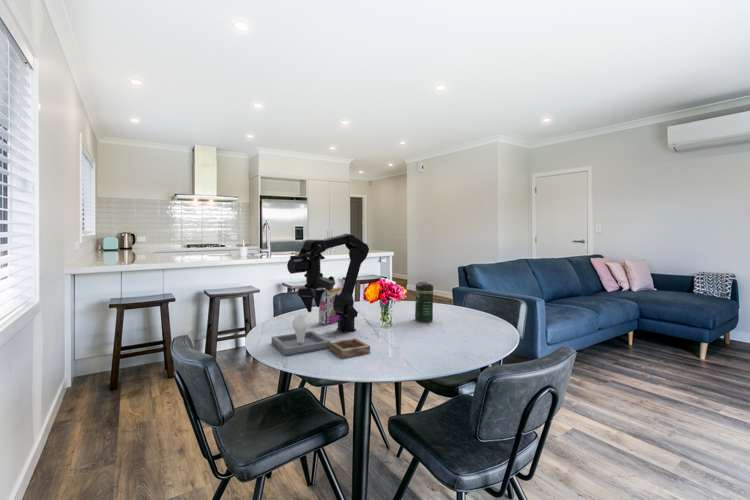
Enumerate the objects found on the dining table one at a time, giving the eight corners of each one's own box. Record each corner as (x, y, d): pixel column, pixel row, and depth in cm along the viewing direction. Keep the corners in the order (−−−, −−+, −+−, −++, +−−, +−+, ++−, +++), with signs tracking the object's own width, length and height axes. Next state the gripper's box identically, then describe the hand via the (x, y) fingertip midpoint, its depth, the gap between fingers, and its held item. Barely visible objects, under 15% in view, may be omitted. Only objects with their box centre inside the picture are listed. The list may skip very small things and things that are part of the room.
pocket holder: (355, 344, 146) (355, 338, 146) (370, 352, 137) (370, 345, 136) (329, 349, 140) (329, 342, 140) (342, 358, 131) (342, 351, 131)
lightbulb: (300, 347, 140) (300, 318, 139) (288, 344, 143) (288, 315, 142) (312, 343, 145) (311, 314, 144) (300, 340, 148) (300, 312, 148)
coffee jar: (434, 322, 181) (435, 283, 180) (418, 322, 180) (419, 284, 178) (428, 317, 190) (429, 280, 189) (413, 317, 189) (413, 281, 188)
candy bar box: (326, 325, 173) (326, 290, 172) (318, 323, 176) (318, 288, 175) (342, 320, 182) (342, 286, 181) (334, 319, 185) (334, 285, 184)
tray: (312, 336, 156) (312, 330, 156) (330, 348, 141) (330, 341, 141) (271, 343, 147) (271, 336, 147) (286, 356, 132) (286, 349, 132)
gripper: (324, 274, 141) (325, 316, 142) (339, 268, 159) (340, 305, 160) (296, 274, 143) (297, 314, 144) (314, 268, 161) (315, 304, 163)
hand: (314, 309), depth 153 cm, fingers open, 9 cm apart
